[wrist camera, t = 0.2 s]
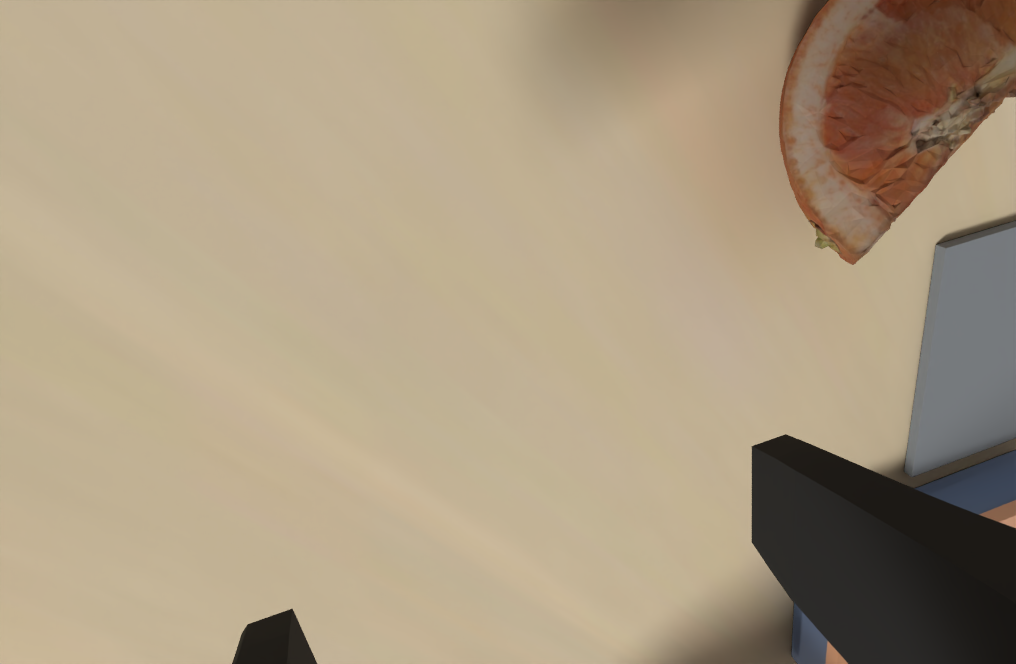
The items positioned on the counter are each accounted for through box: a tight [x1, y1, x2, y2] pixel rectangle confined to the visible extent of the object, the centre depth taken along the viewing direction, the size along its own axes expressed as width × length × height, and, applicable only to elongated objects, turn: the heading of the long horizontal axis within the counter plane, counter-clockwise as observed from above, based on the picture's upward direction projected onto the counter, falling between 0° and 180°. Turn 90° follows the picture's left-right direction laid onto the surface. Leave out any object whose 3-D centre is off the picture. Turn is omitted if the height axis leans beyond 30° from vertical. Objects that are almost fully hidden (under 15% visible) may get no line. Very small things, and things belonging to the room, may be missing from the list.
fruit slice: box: [779, 0, 1016, 265], centre depth 18 cm, size 8×7×5 cm
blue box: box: [791, 450, 1016, 664], centre depth 30 cm, size 8×11×2 cm
